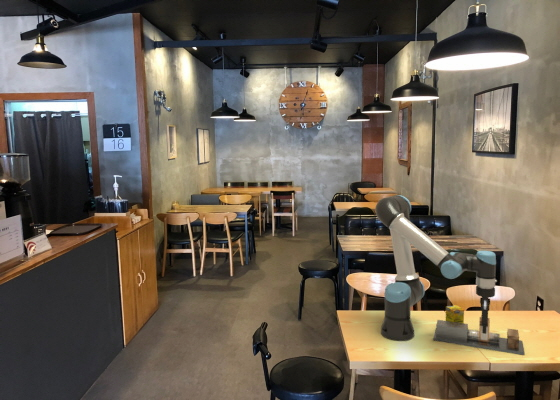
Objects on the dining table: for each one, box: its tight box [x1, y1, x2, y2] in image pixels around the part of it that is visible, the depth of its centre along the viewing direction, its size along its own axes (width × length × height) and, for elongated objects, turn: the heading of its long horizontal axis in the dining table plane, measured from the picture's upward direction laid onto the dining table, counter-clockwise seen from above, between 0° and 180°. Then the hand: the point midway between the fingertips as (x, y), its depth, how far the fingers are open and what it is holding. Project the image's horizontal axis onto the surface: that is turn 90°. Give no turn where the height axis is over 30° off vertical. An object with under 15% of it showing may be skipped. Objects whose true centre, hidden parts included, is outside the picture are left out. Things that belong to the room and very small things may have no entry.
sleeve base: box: [432, 319, 525, 356], centre depth 188 cm, size 36×12×6 cm, turn 64°
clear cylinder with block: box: [467, 316, 501, 342], centre depth 188 cm, size 20×4×10 cm, turn 64°
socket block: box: [506, 328, 520, 349], centre depth 182 cm, size 4×8×6 cm, turn 154°
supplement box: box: [445, 304, 465, 323], centre depth 201 cm, size 6×6×11 cm
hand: (484, 337), depth 187 cm, fingers closed on clear cylinder with block, 4 cm apart
